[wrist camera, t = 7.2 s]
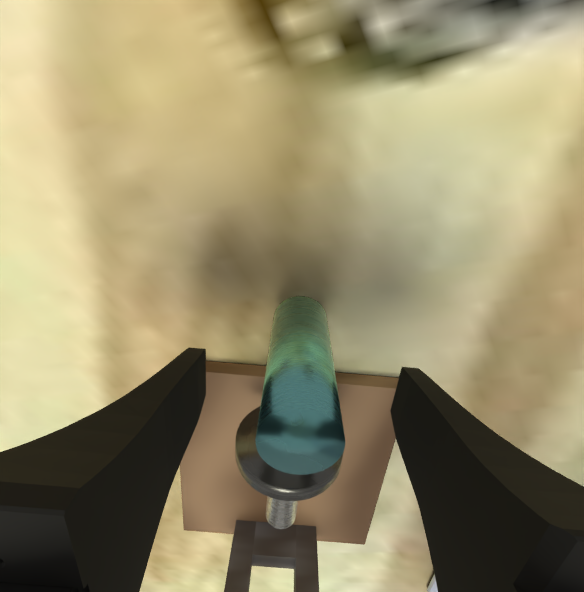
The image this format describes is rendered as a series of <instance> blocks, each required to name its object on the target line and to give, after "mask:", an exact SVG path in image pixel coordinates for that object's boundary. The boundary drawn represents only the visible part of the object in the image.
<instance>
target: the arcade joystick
mask: <svg viewBox="0 0 584 592" xmlns="http://www.w3.org/2000/svg"><path fill="white" fill-rule="evenodd" d="M344 448H345V434H344V428H343V421H342V415H341V408H340V402H339V395H338V389H337V382H336V376H335V369H334V363H333V356H332V350H331V343H330V337H329V330H328V324H327V317H326V313H325V310H324V309H323V307H322V306H321V305H320V304H319V303H318V302H317V301H315V300H314V299H311V298H309V297H304V296H296V297H292V298H289V299H287V300H285V301H283V302H282V303H281V304H280V305H279V306H278V307H277V309H276V311H275V313H274V318H273V325H272V332H271V339H270V345H269V352H268V359H267V365H266V372H265V379H264V386H263V392H262V399H261V406H259V407H257V408H256V409H254V410H252V411H251V412H250V413H249V414H247V415H246V417H245V418H244V419H243V420H242V422H241V423H240V425H239V427H238V430H237V433H236V440H235V459H236V464H237V467H238V470H239V471H240V473H241V475H242V477H243V478H244V479H245V481H246V482H247V483H248V484H249V485H250V486H251V487H253V488H254V489H255V490H257V491H258V492H260V493H262V494H263V495H266V496H267V505H266V518H267V521H268V522H269V524H270V525H271V526H273V527H274V528H277V529H286V528H288V527H290V526H291V525H292V524H293V523H294V521H295V518H296V512H297V506H298V501H301V500H306V499H310V498H312V497H315V496H317V495H319V494H321V493H323V492H324V491H325V490H327V489H328V488H329V487H330V486H331V485H332V484H333V482H334V481H335V479H336V478H337V476H338V474H339V471H340V467H341V463H342V458H343V452H344Z"/></svg>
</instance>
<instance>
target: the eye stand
mask: <svg viewBox="0 0 584 592" xmlns="http://www.w3.org/2000/svg"><path fill="white" fill-rule="evenodd" d="M265 372H266V366H258V365H247V364H236V363H224V362H213V361H206V396H205V400H204V404H203V407H202V411H201V414H200V417H199V420H198V423H197V425H196V428H195V430H194V432H193V435H192V437H191V440H190V442H189V444H188V447H187V449H186V451H185V454H184V456H183V458H182V461H181V463H180V474H181V491H182V507H183V524H184V530H188V531H201V532H214V533H226V534H234V536H233V542H232V548H231V554H230V560H229V566H228V572H227V578H226V584H225V590H224V592H249V585H250V576H251V567H252V566H264V567H277V568H290V569H294V592H319V581H318V557H317V541H328V542H340V543H353V544H365V541H366V538H367V534H368V531H369V527H370V524H371V521H372V517H373V514H374V510H375V507H376V503H377V500H378V497H379V493H380V490H381V486H382V483H383V479H384V476H385V473H386V469H387V466H388V462H389V459H390V455H391V452H392V449H393V445H394V442H395V438H396V437H395V432H394V427H393V422H392V417H391V412H390V410H391V406H392V402H393V399H394V395H395V391H396V387H397V384H398V380H399V378H394V377H383V376H371V375H360V374H349V373H338V372H335V376H336V382H337V389H338V395H339V402H340V408H341V415H342V421H343V428H344V434H345V448H344V452H343V458H342V463H341V467H340V471H339V474H338V476H337V478H336V479H335V481H334V482H333V484H332V485H331V486H330V487H329V488H328V489H327V490H325V491H324V492H323V493H321V494H319V495H317V496H315V497H312V498H310V499H306V500H301V501H298V506H297V512H296V518H295V521H294V523H293V524H292V525H291V526H290V527H288V528H286V529H277V528H274V527H273V526H271V525H270V524H269V522H268V521H267V518H266V505H267V496H266V495H263V494H262V493H260V492H258V491H257V490H255V489H254V488H253V487H251V486H250V485H249V484H248V483H247V482H246V481H245V479H244V478H243V477H242V475H241V473H240V471H239V470H238V467H237V464H236V459H235V440H236V433H237V430H238V427H239V425H240V423H241V422H242V420H243V419H244V418H245V417H246V415H247V414H249V413H250V412H251V411H252V410H254V409H256V408H257V407H259V406H261V399H262V392H263V386H264V379H265Z"/></svg>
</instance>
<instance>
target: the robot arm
mask: <svg viewBox="0 0 584 592" xmlns="http://www.w3.org/2000/svg"><path fill="white" fill-rule="evenodd" d="M205 396H206V349H198V348H188V349H186V350H185V351H184V352H183V353H181V354H180V355H179V356H178V357H176V358H175V359H174V360H173V361H171V362H170V363H169V364H168V365H166V366H165V367H164V368H163V369H161V370H160V371H159V372H157V373H156V374H155V375H153V376H152V377H151V378H150V379H148V380H147V381H145V382H144V383H142V384H141V385H139V386H138V387H137V388H135V389H134V390H132V391H131V392H129V393H128V394H126V395H125V396H123V397H122V398H120V399H118V400H117V401H115V402H113V403H111V404H110V405H108V406H106V407H104V408H103V409H101V410H99V411H97V412H95V413H93V414H91V415H89V416H87V417H85V418H83V419H81V420H79V421H77V422H75V423H73V424H71V425H69V426H67V427H65V428H62V429H60V430H58V431H55V432H53V433H51V434H48V435H46V436H43V437H41V438H38V439H36V440H33V441H31V442H28V443H26V444H23V445H20V446H17V447H15V448H12V449H9V450H6V451H3V452H0V592H139V591H140V587H141V584H142V580H143V577H144V573H145V570H146V566H147V563H148V559H149V556H150V552H151V549H152V545H153V542H154V539H155V535H156V532H157V529H158V525H159V522H160V519H161V516H162V513H163V509H164V506H165V503H166V500H167V497H168V494H169V490H170V488H171V485H172V482H173V480H174V477H175V475H176V472H177V470H178V468H179V465H180V463H181V461H182V458H183V456H184V454H185V451H186V449H187V447H188V444H189V442H190V440H191V437H192V435H193V432H194V430H195V428H196V425H197V423H198V420H199V417H200V414H201V411H202V407H203V404H204V400H205ZM390 412H391V417H392V422H393V427H394V432H395V437H396V440H397V443H398V446H399V449H400V452H401V455H402V458H403V460H404V463H405V466H406V469H407V472H408V475H409V478H410V481H411V484H412V486H413V489H414V492H415V495H416V498H417V502H418V505H419V508H420V512H421V516H422V520H423V524H424V529H425V533H426V537H427V541H428V546H429V550H430V555H431V560H432V564H433V569H434V576H433V578H432V580H431V582H430V584H429V587H428V589H427V592H584V487H583V486H581V485H580V484H578V483H576V482H574V481H572V480H570V479H568V478H566V477H565V476H563V475H561V474H559V473H557V472H556V471H554V470H552V469H550V468H549V467H547V466H545V465H544V464H542V463H540V462H539V461H537V460H535V459H534V458H532V457H531V456H529V455H527V454H526V453H524V452H523V451H521V450H520V449H518V448H517V447H515V446H514V445H512V444H511V443H509V442H508V441H506V440H505V439H503V438H502V437H501V436H499V435H498V434H496V433H495V432H494V431H492V430H491V429H490V428H488V427H487V426H486V425H484V424H483V423H482V422H481V421H479V420H478V419H477V418H476V417H474V416H473V415H472V414H471V413H469V412H468V411H467V410H466V409H465V408H463V407H462V406H461V405H460V404H459V403H457V402H456V401H455V400H454V399H453V398H452V397H451V396H449V395H448V394H447V393H446V392H445V391H444V390H443V389H442V388H441V387H439V386H438V385H437V384H436V383H435V382H434V381H433V380H432V379H430V378H429V377H428V376H427V375H426V374H425V373H424V372H422V371H421V370H420V369H418V368H407V367H402V369H401V373H400V376H399V380H398V384H397V387H396V391H395V395H394V399H393V402H392V406H391V410H390Z"/></svg>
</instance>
